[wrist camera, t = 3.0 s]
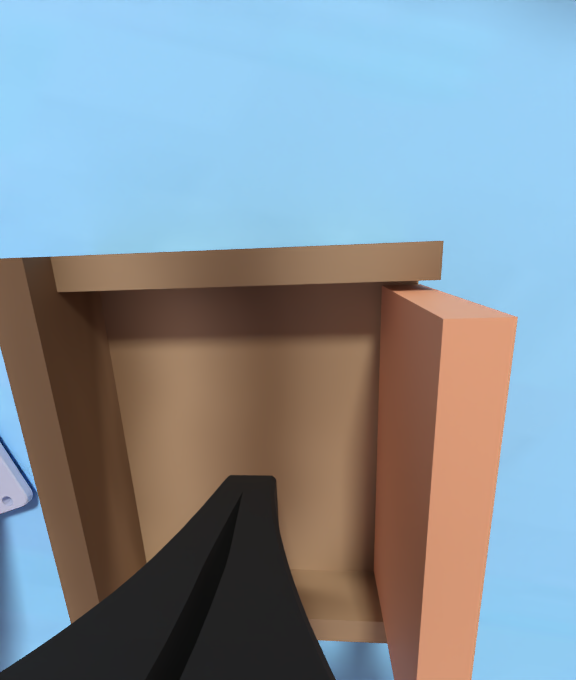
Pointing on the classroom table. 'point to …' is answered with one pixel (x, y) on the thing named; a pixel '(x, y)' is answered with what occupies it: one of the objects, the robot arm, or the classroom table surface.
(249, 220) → the classroom table surface
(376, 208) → the classroom table surface
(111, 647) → the robot arm
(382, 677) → the classroom table surface
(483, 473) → the orange rectangular block
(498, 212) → the classroom table surface
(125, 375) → the open wooden crate
